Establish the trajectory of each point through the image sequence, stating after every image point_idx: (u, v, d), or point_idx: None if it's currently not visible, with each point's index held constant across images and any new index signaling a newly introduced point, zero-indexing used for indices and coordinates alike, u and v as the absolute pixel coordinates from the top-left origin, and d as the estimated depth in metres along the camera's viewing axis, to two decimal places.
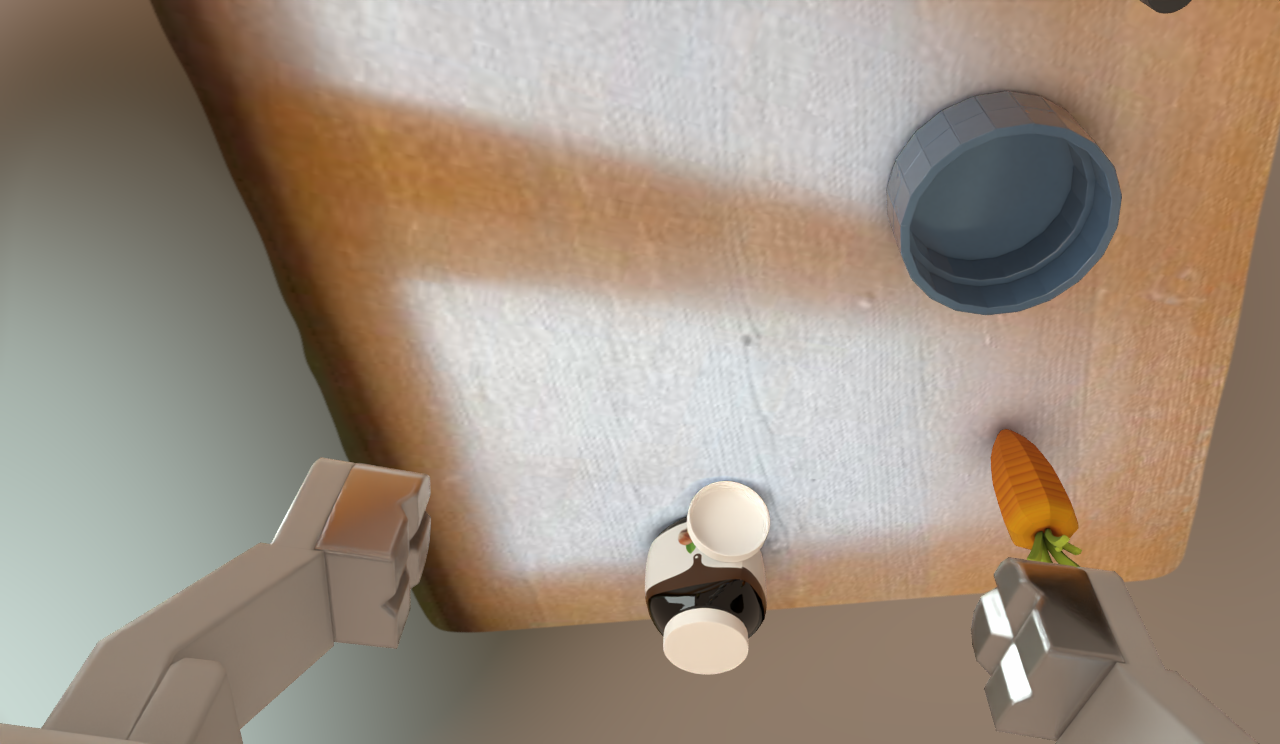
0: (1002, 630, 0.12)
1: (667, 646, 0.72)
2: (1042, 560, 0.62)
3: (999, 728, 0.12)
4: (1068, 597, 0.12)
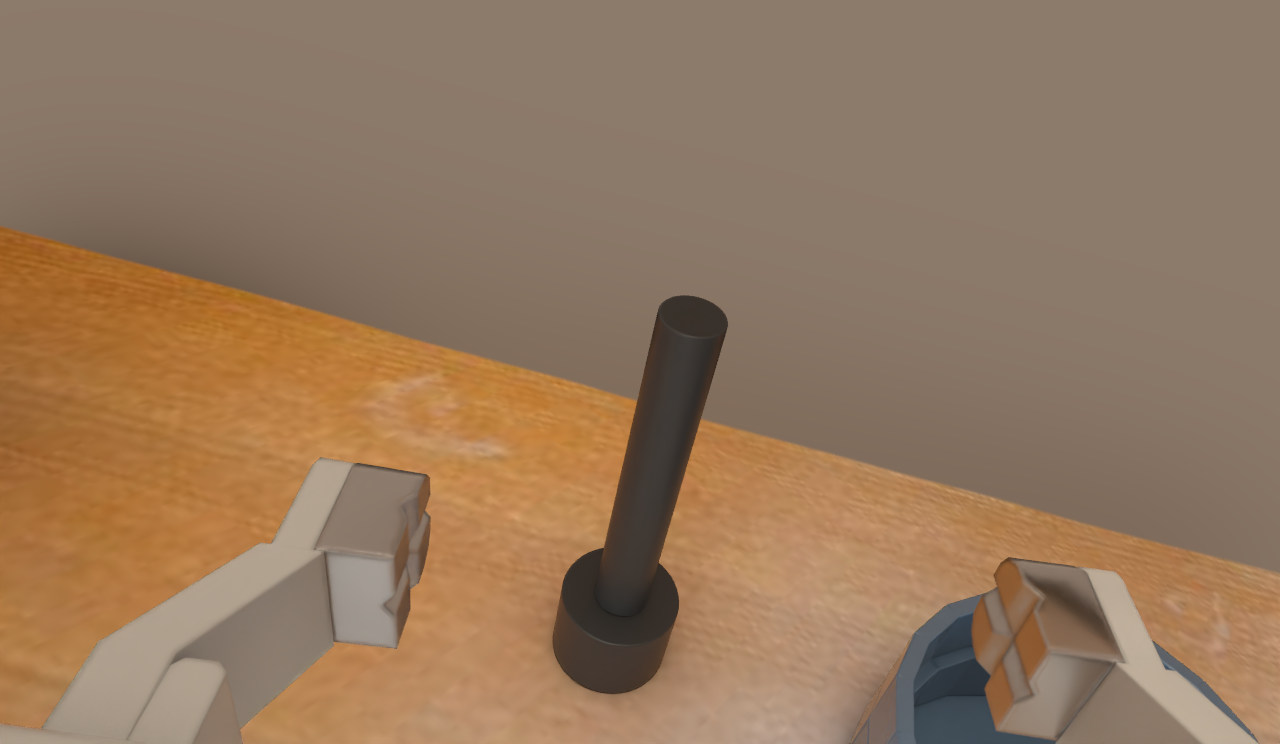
0: (1002, 630, 0.12)
1: None
2: None
3: (999, 728, 0.12)
4: (1068, 597, 0.12)
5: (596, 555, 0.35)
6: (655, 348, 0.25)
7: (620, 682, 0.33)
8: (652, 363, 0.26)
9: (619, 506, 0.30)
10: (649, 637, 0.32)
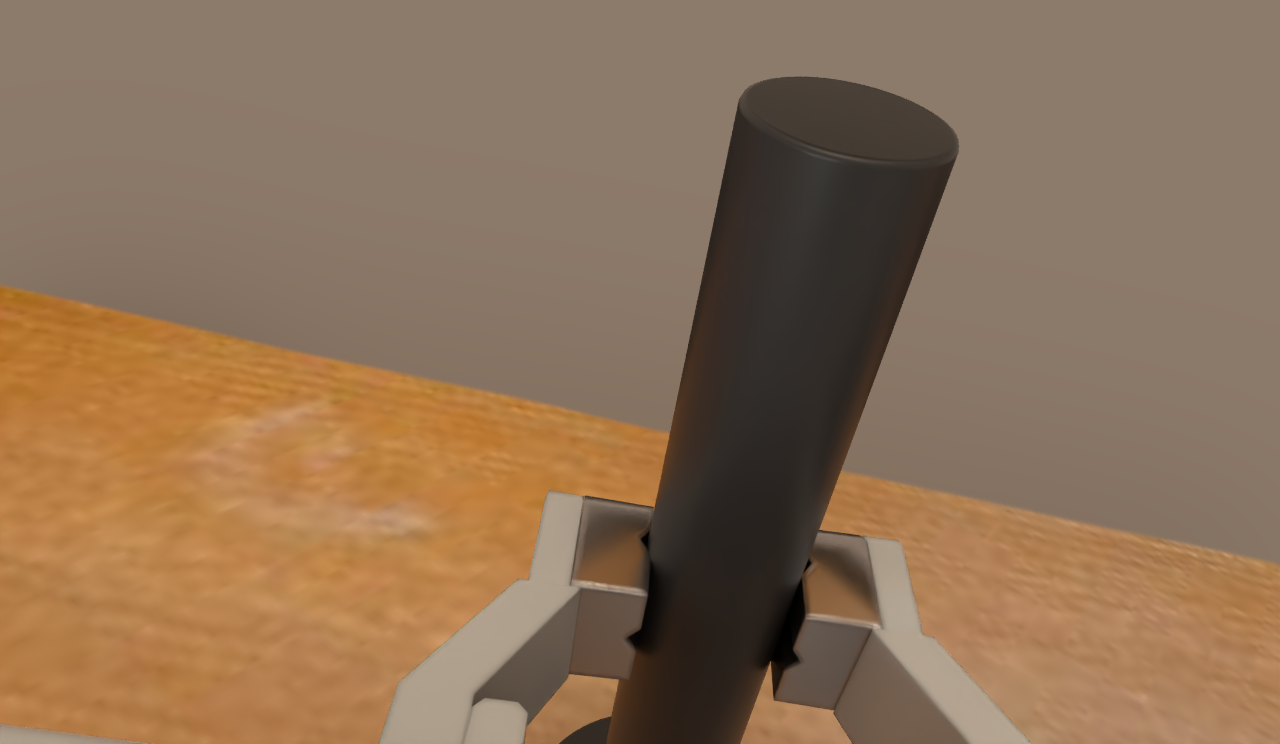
0: None
1: None
2: None
3: (777, 698, 0.12)
4: (840, 564, 0.12)
5: (591, 735, 0.17)
6: (735, 228, 0.08)
7: None
8: (724, 278, 0.09)
9: (638, 667, 0.12)
10: None
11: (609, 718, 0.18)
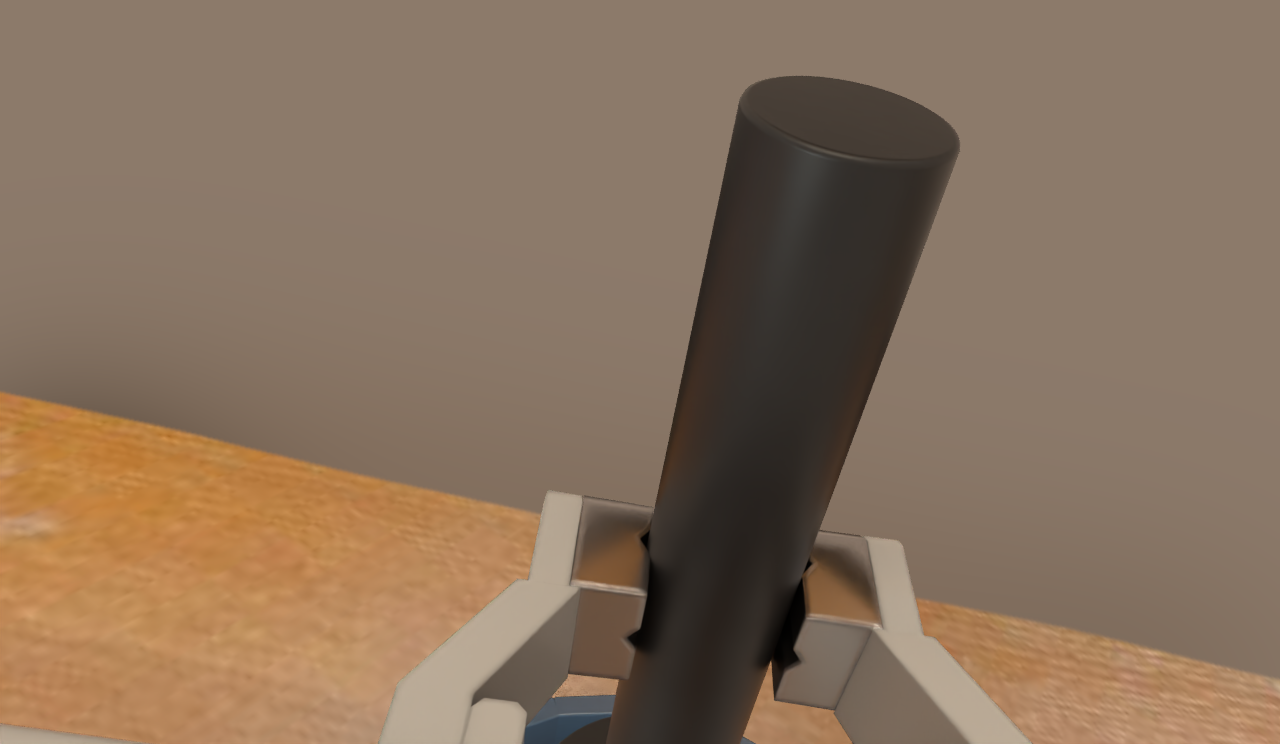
0: None
1: None
2: None
3: (777, 698, 0.12)
4: (841, 565, 0.12)
5: (591, 735, 0.17)
6: (736, 227, 0.08)
7: None
8: (725, 277, 0.09)
9: (638, 666, 0.12)
10: None
11: (608, 718, 0.18)
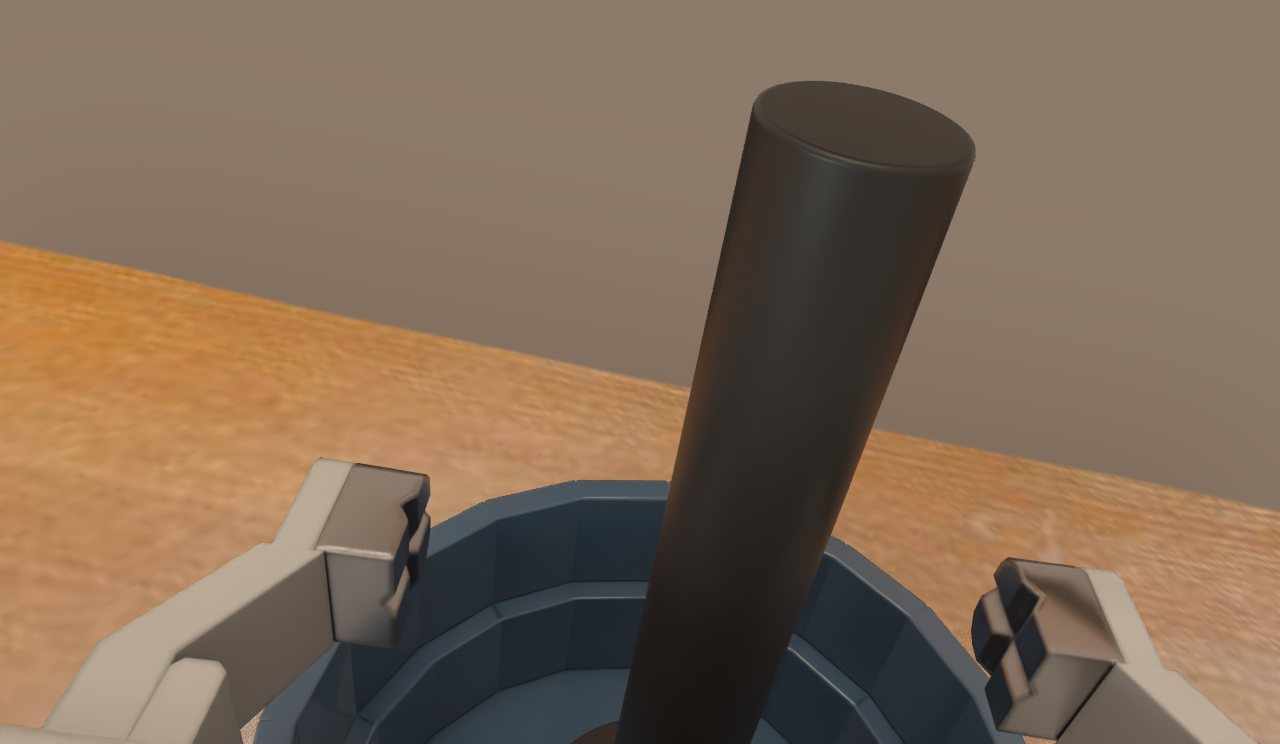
0: (1002, 631, 0.12)
1: None
2: None
3: (999, 728, 0.12)
4: (1068, 597, 0.12)
5: (598, 740, 0.17)
6: (749, 234, 0.08)
7: None
8: (737, 284, 0.08)
9: (647, 673, 0.12)
10: None
11: (615, 723, 0.17)
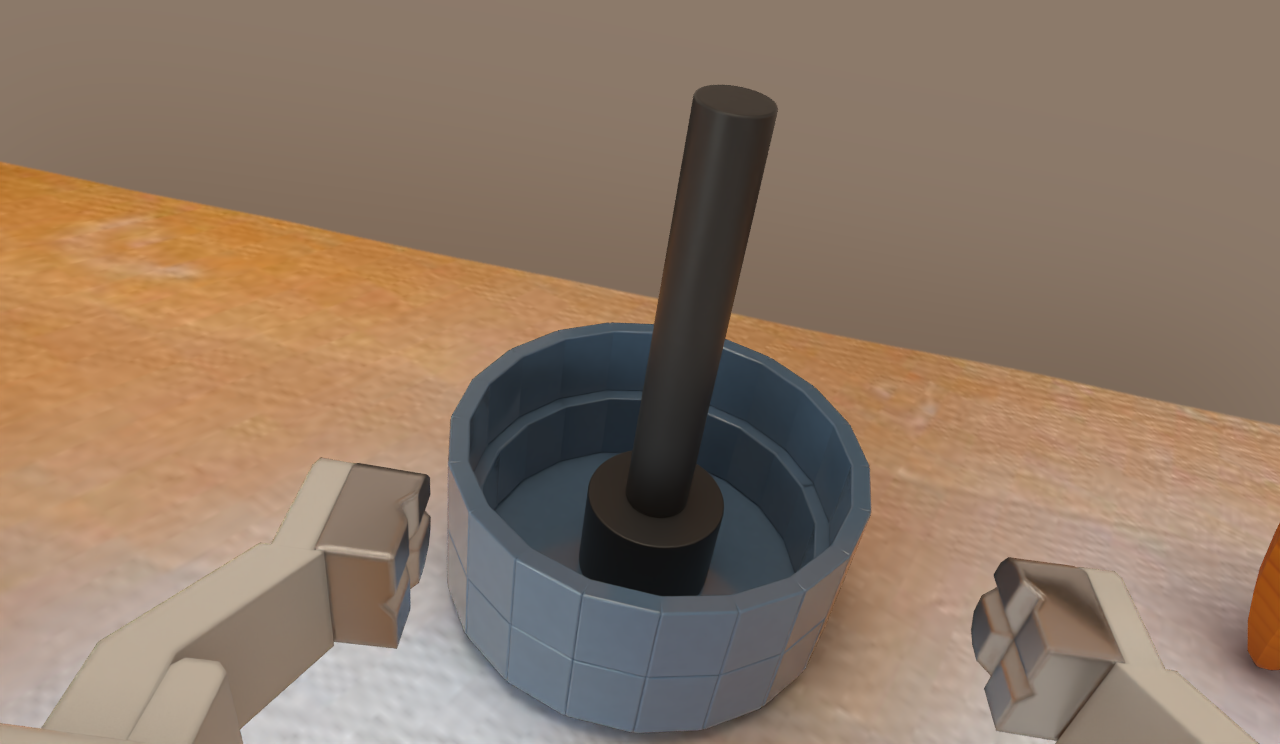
0: (1002, 630, 0.12)
1: None
2: None
3: (999, 728, 0.12)
4: (1068, 597, 0.12)
5: (624, 457, 0.30)
6: (693, 143, 0.21)
7: None
8: (689, 164, 0.22)
9: (653, 370, 0.25)
10: (694, 538, 0.28)
11: None
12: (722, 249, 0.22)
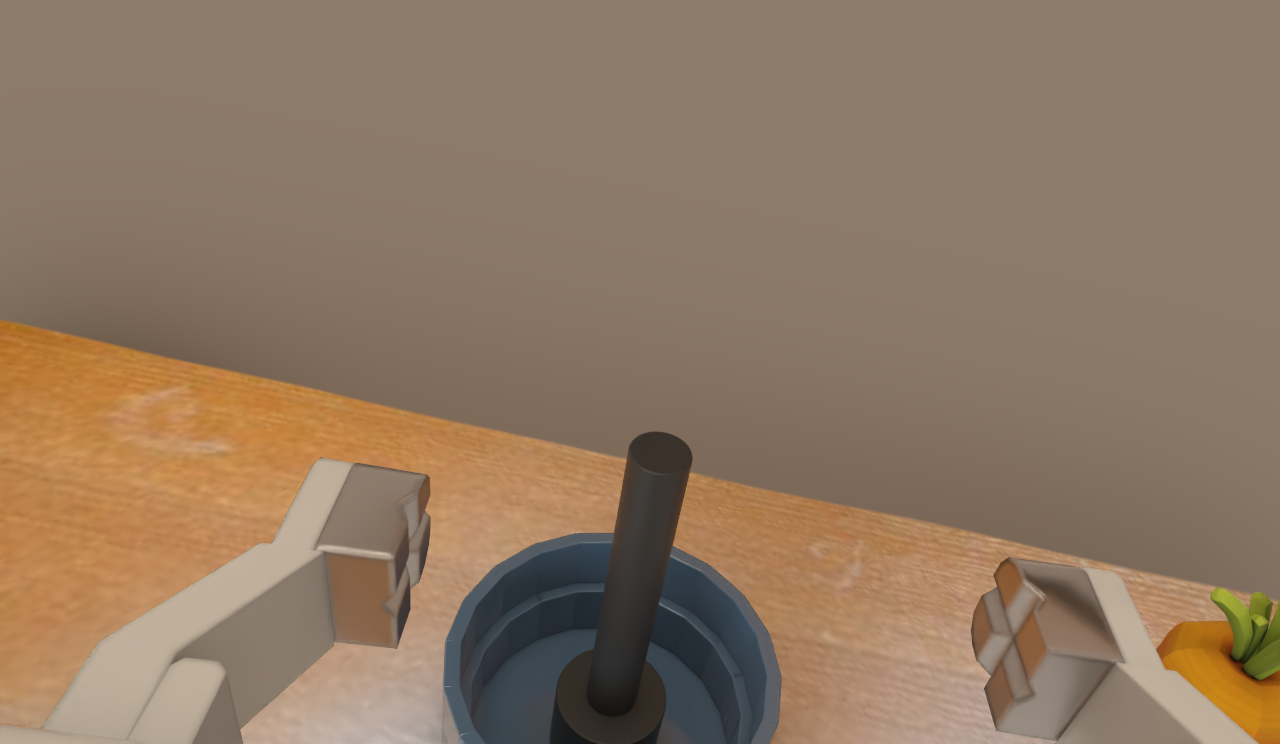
0: (1002, 631, 0.12)
1: None
2: None
3: (999, 728, 0.12)
4: (1068, 597, 0.12)
5: (587, 656, 0.37)
6: (628, 483, 0.28)
7: None
8: (626, 495, 0.28)
9: (604, 618, 0.32)
10: (640, 736, 0.34)
11: None
12: (653, 550, 0.29)
